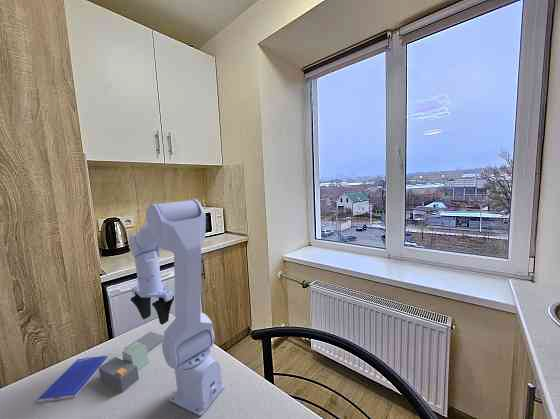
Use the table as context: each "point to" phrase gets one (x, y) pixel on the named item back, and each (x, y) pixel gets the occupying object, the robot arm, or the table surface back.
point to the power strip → (119, 374)
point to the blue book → (73, 379)
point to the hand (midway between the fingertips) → (155, 319)
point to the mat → (150, 340)
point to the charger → (136, 355)
